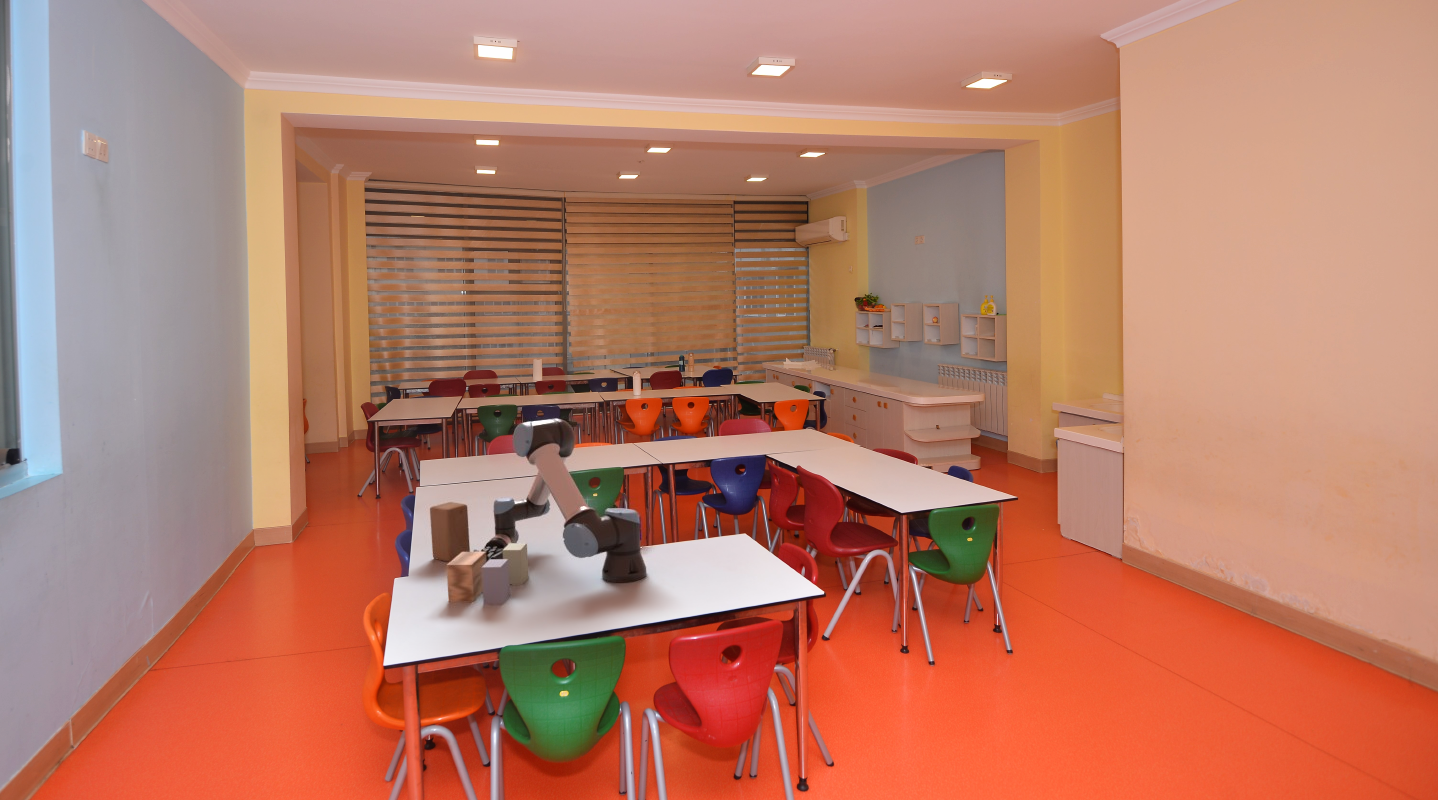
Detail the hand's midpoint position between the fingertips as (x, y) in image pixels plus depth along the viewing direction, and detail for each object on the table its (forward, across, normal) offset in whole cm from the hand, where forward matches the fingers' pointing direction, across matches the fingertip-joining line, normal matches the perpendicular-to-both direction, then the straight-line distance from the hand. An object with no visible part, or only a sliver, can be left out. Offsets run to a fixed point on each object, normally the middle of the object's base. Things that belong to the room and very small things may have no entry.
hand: (476, 567), depth 262 cm
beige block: (-3, -12, -6) cm, 14 cm away
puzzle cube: (-47, -43, -6) cm, 64 cm away
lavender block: (+15, -11, -6) cm, 19 cm away
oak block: (+9, 0, -6) cm, 10 cm away
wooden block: (-32, +20, -6) cm, 38 cm away
